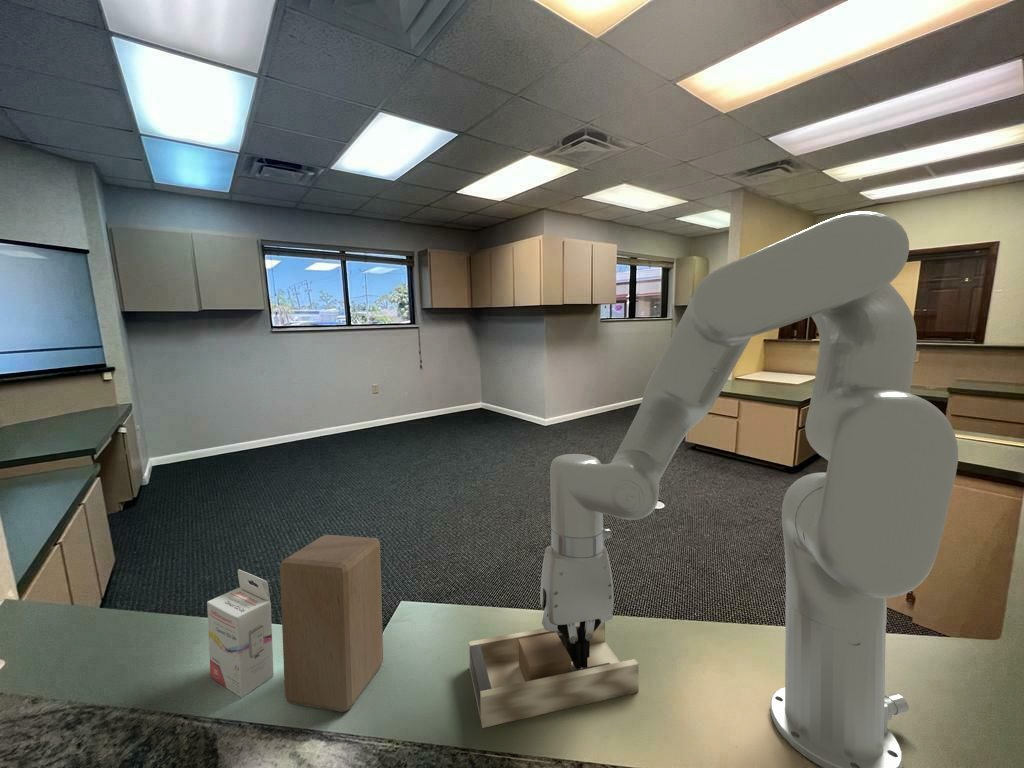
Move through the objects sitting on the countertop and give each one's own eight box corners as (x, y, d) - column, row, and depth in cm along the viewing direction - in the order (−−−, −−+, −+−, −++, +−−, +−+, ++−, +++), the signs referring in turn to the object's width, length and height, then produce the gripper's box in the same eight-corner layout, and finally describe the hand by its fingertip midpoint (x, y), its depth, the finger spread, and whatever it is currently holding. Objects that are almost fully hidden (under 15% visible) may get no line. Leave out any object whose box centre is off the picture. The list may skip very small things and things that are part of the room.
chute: (602, 641, 68) (602, 617, 68) (638, 691, 57) (638, 663, 57) (469, 667, 63) (468, 641, 63) (482, 728, 52) (481, 697, 52)
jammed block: (556, 657, 64) (556, 632, 63) (571, 686, 58) (571, 658, 58) (519, 665, 62) (518, 639, 62) (530, 695, 56) (530, 667, 56)
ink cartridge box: (207, 678, 61) (203, 581, 61) (242, 658, 66) (239, 567, 65) (240, 700, 57) (236, 595, 57) (275, 676, 62) (271, 579, 61)
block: (348, 716, 54) (343, 566, 53) (281, 705, 56) (276, 560, 55) (386, 663, 64) (382, 535, 63) (328, 655, 66) (324, 531, 65)
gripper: (611, 525, 66) (612, 638, 67) (520, 536, 62) (522, 654, 63) (636, 545, 59) (637, 671, 59) (535, 558, 55) (537, 692, 56)
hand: (578, 662), depth 61 cm, fingers closed
